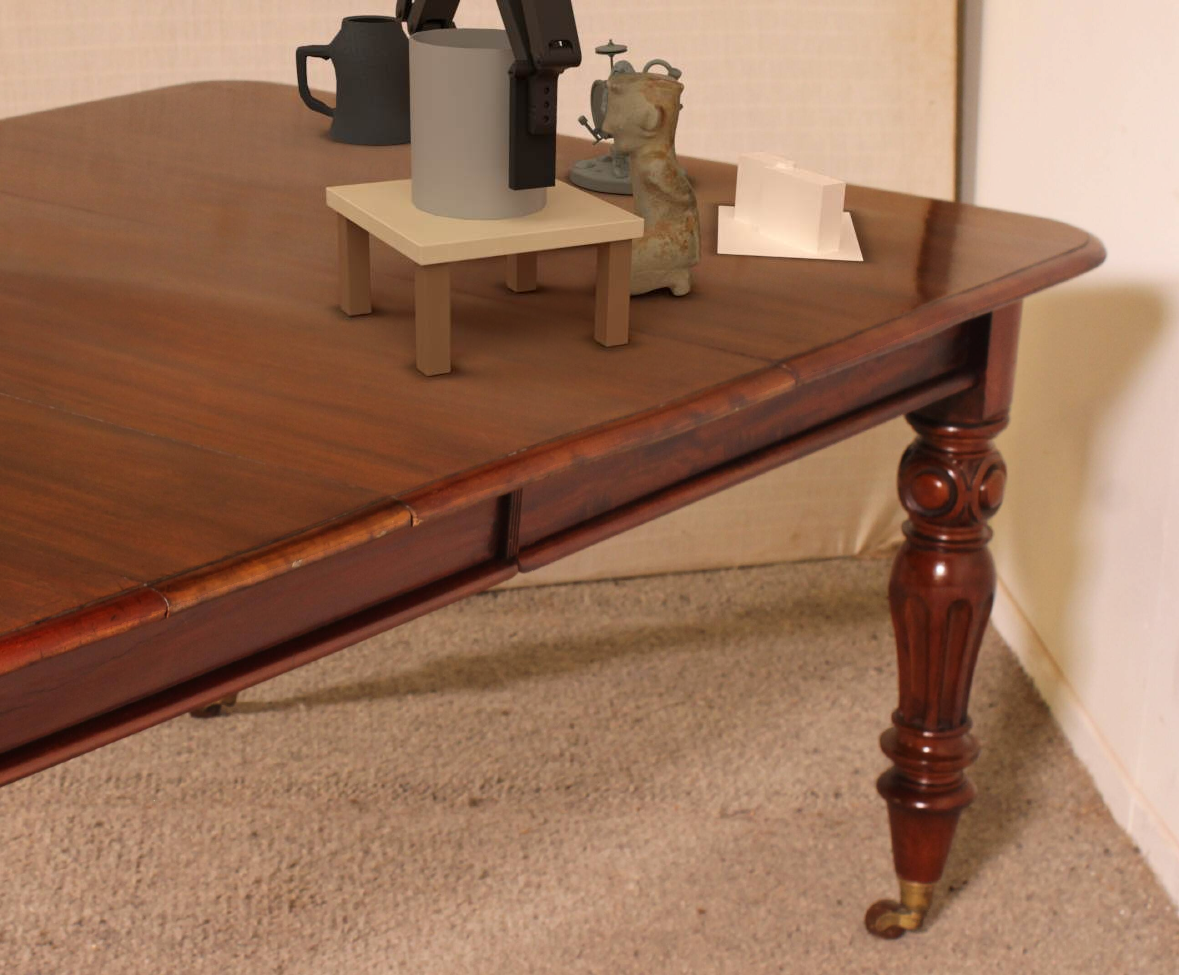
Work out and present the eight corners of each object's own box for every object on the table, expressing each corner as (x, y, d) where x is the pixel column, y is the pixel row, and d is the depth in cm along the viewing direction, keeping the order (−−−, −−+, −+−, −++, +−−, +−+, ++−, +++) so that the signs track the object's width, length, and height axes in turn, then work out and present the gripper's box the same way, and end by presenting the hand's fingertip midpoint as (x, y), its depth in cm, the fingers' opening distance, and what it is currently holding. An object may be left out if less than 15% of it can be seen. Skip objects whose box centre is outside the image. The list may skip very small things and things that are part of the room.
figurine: (592, 197, 129) (596, 55, 124) (554, 169, 138) (557, 36, 133) (704, 191, 132) (713, 52, 127) (660, 164, 142) (667, 34, 137)
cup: (386, 198, 94) (382, 34, 90) (487, 180, 99) (488, 24, 95) (469, 226, 88) (469, 53, 84) (572, 206, 94) (577, 42, 89)
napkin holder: (866, 261, 114) (874, 187, 112) (717, 254, 115) (722, 180, 112) (849, 211, 128) (856, 144, 125) (716, 205, 128) (720, 138, 126)
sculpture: (592, 278, 108) (599, 65, 101) (691, 279, 108) (704, 67, 102) (599, 303, 102) (607, 80, 96) (703, 304, 103) (718, 82, 97)
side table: (422, 381, 88) (420, 245, 85) (330, 308, 100) (325, 186, 96) (638, 345, 95) (644, 218, 92) (529, 281, 107) (530, 166, 103)
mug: (420, 126, 154) (418, 13, 150) (421, 145, 146) (418, 26, 141) (303, 125, 153) (297, 11, 148) (296, 144, 145) (290, 24, 140)
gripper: (655, -209, 76) (636, 203, 85) (447, -215, 95) (450, 120, 104) (524, -213, 72) (519, 216, 81) (337, -219, 92) (349, 128, 101)
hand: (481, 163), depth 93 cm, fingers open, 13 cm apart
